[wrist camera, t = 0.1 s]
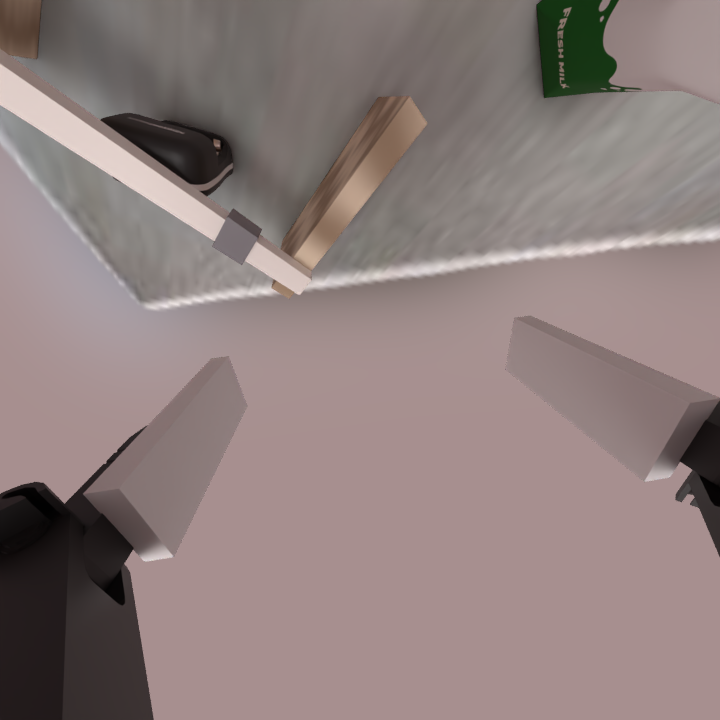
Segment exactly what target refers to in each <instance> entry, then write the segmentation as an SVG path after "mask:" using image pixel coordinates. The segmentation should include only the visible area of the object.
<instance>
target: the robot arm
mask: <svg viewBox="0 0 720 720" xmlns="http://www.w3.org/2000/svg"><path fill="white" fill-rule="evenodd" d="M505 370H507V371H508V372H509V373H510V374H512V375H513V376H514V377H515V378H516V379H518V380H519V381H520V382H521V383H523V384H524V385H525V386H526V387H528V388H529V389H530V390H531V391H533V392H534V393H535V394H536V395H538V396H539V397H540V398H541V399H542V400H544V401H545V402H546V403H547V404H549V405H550V406H551V407H552V408H554V409H555V410H556V411H557V412H559V413H560V414H561V415H562V416H563V417H565V418H566V419H567V420H568V421H570V422H571V423H572V424H573V425H575V426H576V427H577V428H579V429H580V430H581V431H582V432H583V433H584V434H586V435H587V436H588V437H589V438H591V439H592V440H593V441H594V442H596V443H597V444H598V445H600V446H601V447H602V448H603V449H604V450H606V451H607V452H608V453H609V454H610V455H612V456H613V457H614V458H616V459H617V460H618V461H619V462H620V463H622V464H623V465H624V466H625V467H627V468H628V469H629V470H630V471H632V472H633V473H634V474H635V475H637V476H638V477H639V478H640V479H641V480H643V481H644V482H645V481H651V480H658V479H664V478H670V476H671V475H672V473H673V472H674V470H675V468H676V467H677V466H678V464H679V462H682V463H683V464H685V465H686V466H688V467H689V468H691V469H692V472H691V473H690V475H689V476H688V478H687V479H686V480H685V482H684V483H683V485H682V486H681V488H680V489H679V490H678V492H677V494H676V500H677V501H680V502H682V501H683V499H684V498H685V497H686V495H687V494H691V495H694V497H695V498H694V499H693V501H692V502H691V503H690V505H692V506H695V507H698V508H699V509H700V511H701V513H702V516H703V518H704V521H705V523H706V525H707V528H708V530H709V532H710V535H711V537H712V539H713V542H714V544H715V547H716V549H717V551H718V554H719V556H720V398H719V397H717V396H714V395H712V394H710V393H707V392H705V391H703V390H701V389H698V388H696V387H693V386H691V385H689V384H687V383H684V382H682V381H680V380H677V379H675V378H673V377H670V376H668V375H666V374H664V373H661V372H659V371H656V370H654V369H652V368H650V367H647V366H645V365H643V364H641V363H638V362H636V361H634V360H631V359H629V358H627V357H624V356H622V355H620V354H617V353H615V352H613V351H610V350H608V349H606V348H604V347H601V346H599V345H597V344H594V343H592V342H589V341H587V340H585V339H583V338H580V337H578V336H576V335H574V334H571V333H569V332H567V331H564V330H562V329H559V328H557V327H555V326H553V325H550V324H548V323H546V322H544V321H541V320H539V319H537V318H534V317H532V316H524V317H517V318H514V322H513V328H512V334H511V339H510V345H509V352H508V357H507V363H506V369H505ZM246 408H247V403H246V401H245V399H244V396H243V393H242V390H241V388H240V385H239V383H238V380H237V377H236V374H235V372H234V369H233V366H232V364H231V361H230V359H229V357H228V356H227V357H219V358H212V359H210V361H209V362H208V363H207V364H206V365H205V366H204V367H203V368H202V369H201V370H200V371H199V372H198V373H197V374H196V375H195V377H194V378H192V379H191V381H190V382H189V383H188V384H187V385H186V386H185V387H184V388H183V389H182V390H181V391H180V392H179V393H178V394H177V395H176V396H175V398H174V399H173V400H172V401H171V402H170V403H169V404H168V405H167V406H166V407H165V408H164V409H163V410H162V411H161V412H160V413H159V414H158V415H157V416H156V417H155V418H154V420H153V421H152V422H151V423H150V424H149V425H148V426H146V427H144V428H143V429H141V430H140V431H139V432H137V433H135V434H134V435H133V436H131V437H130V438H129V439H128V440H127V441H126V442H125V443H124V444H123V445H122V446H121V447H120V448H119V449H118V450H117V453H114V454H113V455H112V456H111V457H110V458H109V459H108V460H107V463H106V464H103V465H102V466H101V467H100V468H99V469H98V470H97V471H96V472H95V473H94V474H93V475H92V477H90V478H89V480H88V481H87V482H86V483H85V484H84V485H83V486H82V487H81V488H80V489H79V490H78V491H77V492H76V493H75V494H74V495H73V496H72V497H71V498H70V499H69V500H68V501H67V502H66V503H65V504H64V503H63V502H62V501H61V500H60V499H59V498H58V497H57V496H56V495H55V494H54V493H53V492H52V491H51V490H50V489H49V488H48V487H47V486H46V485H45V484H44V483H40V482H33V483H29V484H24V485H20V486H18V487H15V488H13V489H10V490H8V491H5V492H3V493H1V494H0V720H153V713H152V707H151V700H150V694H149V688H148V682H147V675H146V670H145V663H144V657H143V651H142V644H141V638H140V632H139V625H138V619H137V613H136V607H135V600H134V594H133V588H132V582H131V576H130V572H129V570H128V568H127V567H126V566H125V565H124V562H125V561H126V560H127V558H128V557H129V555H130V553H131V552H132V550H134V551H135V552H136V553H137V554H138V555H139V556H140V557H141V558H142V559H143V560H144V561H152V560H158V559H164V558H170V557H174V556H175V554H176V552H177V549H178V547H179V545H180V543H181V541H182V539H183V537H184V535H185V533H186V531H187V529H188V527H189V525H190V523H191V521H192V519H193V517H194V514H195V512H196V510H197V508H198V506H199V504H200V502H201V500H202V498H203V496H204V494H205V492H206V490H207V488H208V486H209V484H210V481H211V480H212V477H213V475H214V473H215V471H216V469H217V467H218V465H219V463H220V461H221V459H222V457H223V455H224V453H225V451H226V449H227V447H228V445H229V443H230V440H231V439H232V437H233V435H234V432H235V430H236V428H237V426H238V424H239V422H240V420H241V418H242V416H243V414H244V412H245V410H246Z"/></svg>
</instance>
